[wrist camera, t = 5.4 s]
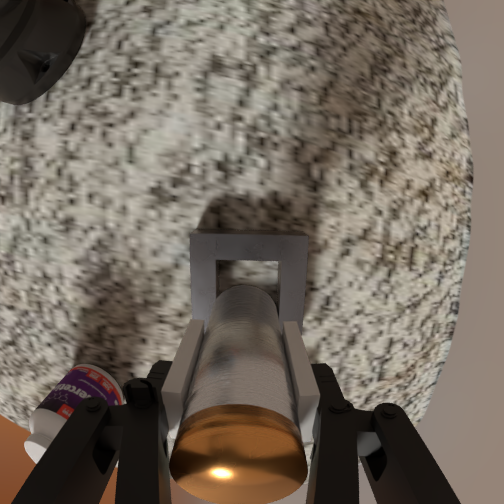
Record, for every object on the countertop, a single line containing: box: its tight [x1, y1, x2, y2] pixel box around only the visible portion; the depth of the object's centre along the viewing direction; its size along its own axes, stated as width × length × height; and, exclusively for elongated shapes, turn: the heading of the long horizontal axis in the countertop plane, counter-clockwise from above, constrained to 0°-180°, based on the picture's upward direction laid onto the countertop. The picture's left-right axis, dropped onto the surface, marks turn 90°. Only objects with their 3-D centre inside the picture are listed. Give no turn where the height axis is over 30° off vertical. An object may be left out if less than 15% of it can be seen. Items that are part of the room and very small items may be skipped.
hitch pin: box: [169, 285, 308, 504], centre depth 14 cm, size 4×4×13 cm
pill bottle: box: [24, 364, 123, 464], centre depth 25 cm, size 8×8×14 cm
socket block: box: [190, 229, 309, 336], centre depth 28 cm, size 10×10×3 cm
